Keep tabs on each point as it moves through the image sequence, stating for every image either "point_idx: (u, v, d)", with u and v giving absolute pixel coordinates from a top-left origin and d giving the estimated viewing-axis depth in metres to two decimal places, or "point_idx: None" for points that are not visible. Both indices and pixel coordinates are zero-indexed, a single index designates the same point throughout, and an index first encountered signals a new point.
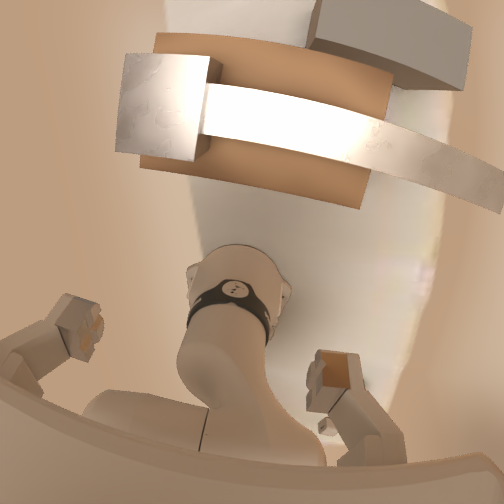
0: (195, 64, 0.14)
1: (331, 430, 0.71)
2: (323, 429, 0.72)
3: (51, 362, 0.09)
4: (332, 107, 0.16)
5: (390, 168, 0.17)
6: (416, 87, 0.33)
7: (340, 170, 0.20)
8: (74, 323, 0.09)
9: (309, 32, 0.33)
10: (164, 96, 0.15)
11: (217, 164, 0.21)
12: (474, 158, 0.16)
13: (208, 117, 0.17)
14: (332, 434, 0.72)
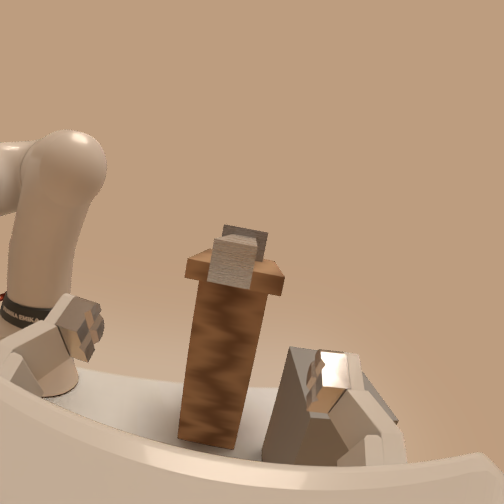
0: None
1: None
2: None
3: (51, 362, 0.09)
4: (255, 239, 0.36)
5: (230, 236, 0.31)
6: None
7: None
8: (74, 323, 0.09)
9: None
10: None
11: (211, 252, 0.42)
12: (255, 243, 0.26)
13: (240, 235, 0.42)
14: None
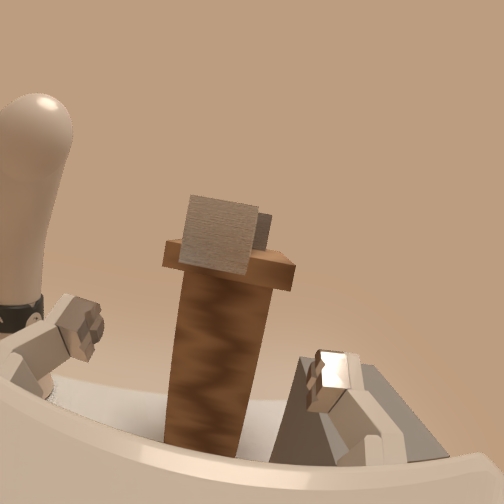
0: None
1: None
2: None
3: (51, 362, 0.09)
4: None
5: None
6: None
7: None
8: (74, 323, 0.09)
9: None
10: None
11: None
12: None
13: None
14: None
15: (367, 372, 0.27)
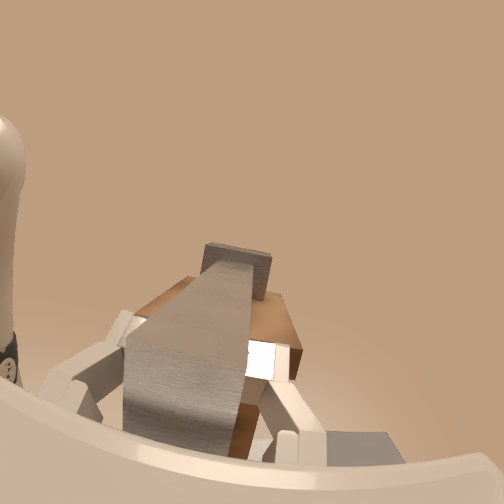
0: (266, 255, 0.29)
1: None
2: None
3: (110, 384, 0.09)
4: (251, 276, 0.21)
5: (204, 279, 0.17)
6: None
7: None
8: None
9: None
10: (245, 250, 0.30)
11: None
12: (247, 317, 0.11)
13: (230, 261, 0.28)
14: None
15: (380, 445, 0.21)
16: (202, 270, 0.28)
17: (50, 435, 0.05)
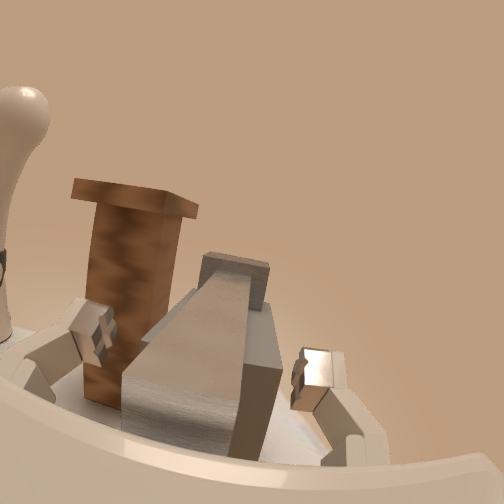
0: (263, 266, 0.29)
1: None
2: None
3: (63, 367, 0.09)
4: (248, 290, 0.21)
5: (200, 296, 0.17)
6: None
7: None
8: (88, 328, 0.09)
9: None
10: (243, 260, 0.30)
11: None
12: (242, 343, 0.11)
13: (228, 272, 0.28)
14: None
15: None
16: (200, 281, 0.28)
17: (50, 435, 0.05)
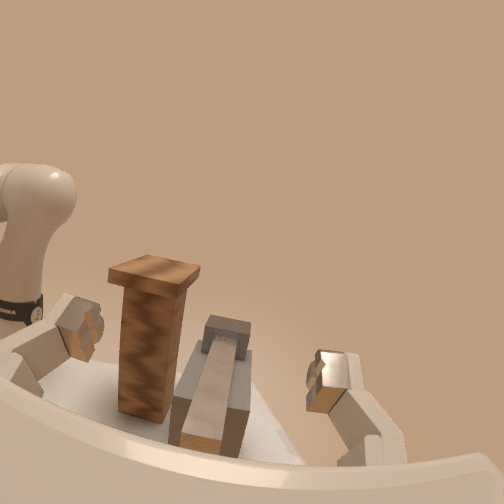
0: (246, 332, 0.41)
1: None
2: None
3: (51, 362, 0.09)
4: (233, 361, 0.34)
5: (205, 374, 0.30)
6: None
7: (130, 269, 0.41)
8: (74, 323, 0.09)
9: None
10: (232, 325, 0.43)
11: (142, 259, 0.49)
12: (225, 410, 0.24)
13: (222, 337, 0.40)
14: None
15: None
16: (203, 341, 0.41)
17: (50, 435, 0.05)
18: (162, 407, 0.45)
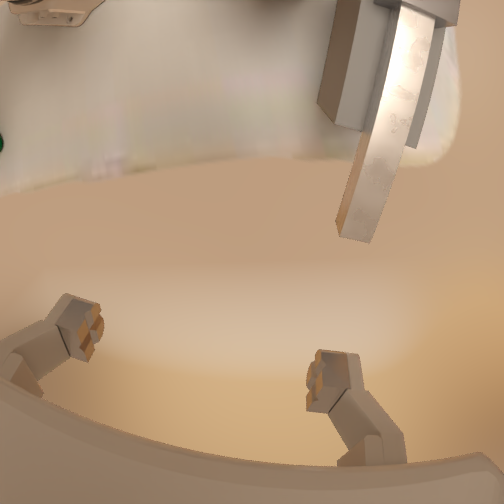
0: (452, 15, 0.14)
1: None
2: None
3: (51, 362, 0.09)
4: (418, 93, 0.20)
5: (377, 132, 0.22)
6: (322, 101, 0.34)
7: None
8: (74, 323, 0.09)
9: None
10: None
11: None
12: (384, 203, 0.25)
13: (412, 11, 0.16)
14: None
15: None
16: (380, 0, 0.17)
17: (50, 435, 0.05)
18: None
